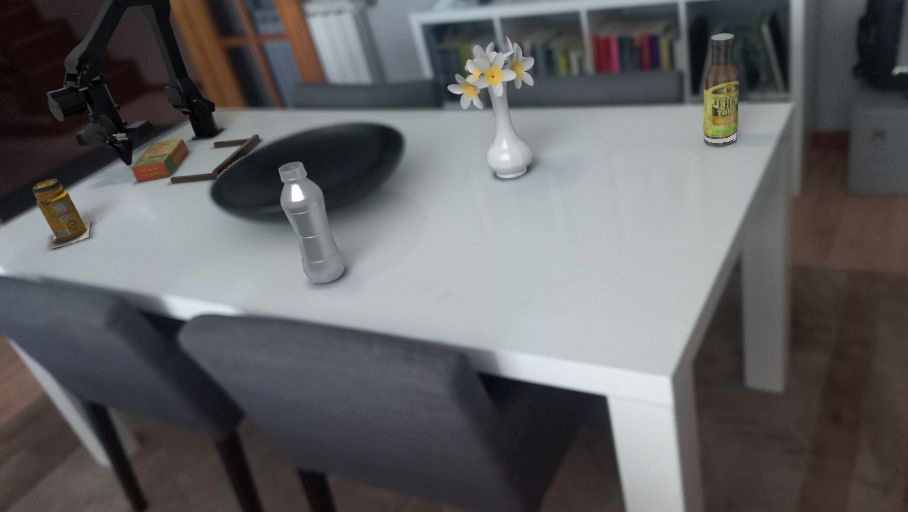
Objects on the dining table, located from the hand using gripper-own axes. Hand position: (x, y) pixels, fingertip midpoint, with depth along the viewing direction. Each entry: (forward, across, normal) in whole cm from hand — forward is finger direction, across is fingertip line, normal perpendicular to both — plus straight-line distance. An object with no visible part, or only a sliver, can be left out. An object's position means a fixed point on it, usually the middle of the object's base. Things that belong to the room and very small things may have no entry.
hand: (129, 164), depth 184 cm
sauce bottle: (+2, +143, -16) cm, 143 cm away
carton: (+2, +9, 0) cm, 10 cm away
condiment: (+2, +8, -35) cm, 36 cm away
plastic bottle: (+2, +77, -58) cm, 96 cm away
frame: (+2, +24, 0) cm, 24 cm away
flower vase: (+2, +102, -22) cm, 105 cm away
